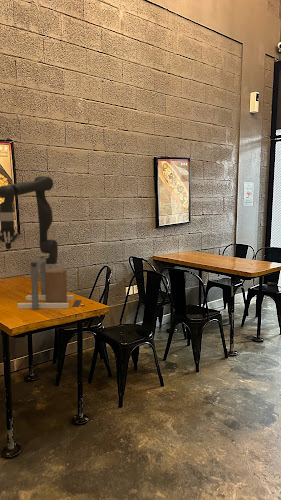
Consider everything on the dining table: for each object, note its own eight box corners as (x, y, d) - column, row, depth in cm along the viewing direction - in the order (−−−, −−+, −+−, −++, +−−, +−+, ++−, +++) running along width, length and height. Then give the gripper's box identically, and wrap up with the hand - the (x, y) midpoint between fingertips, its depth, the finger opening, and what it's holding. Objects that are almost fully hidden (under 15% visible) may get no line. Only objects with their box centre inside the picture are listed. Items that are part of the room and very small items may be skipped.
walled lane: (27, 299, 233) (26, 295, 233) (73, 299, 234) (73, 295, 234) (17, 308, 213) (17, 304, 213) (68, 308, 214) (68, 303, 214)
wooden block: (62, 306, 218) (61, 271, 216) (45, 305, 219) (44, 271, 217) (67, 301, 228) (66, 268, 226) (51, 301, 229) (50, 268, 227)
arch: (41, 298, 235) (40, 256, 232) (46, 298, 236) (45, 256, 232) (32, 309, 212) (30, 262, 209) (37, 309, 212) (36, 262, 209)
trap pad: (75, 300, 231) (75, 300, 231) (81, 300, 231) (81, 300, 231) (72, 306, 217) (72, 306, 217) (78, 306, 217) (78, 306, 217)
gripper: (20, 219, 232) (21, 248, 234) (-2, 219, 232) (-1, 248, 234) (16, 220, 224) (17, 249, 227) (-7, 220, 224) (-5, 250, 226)
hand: (8, 249), depth 230 cm, fingers closed
